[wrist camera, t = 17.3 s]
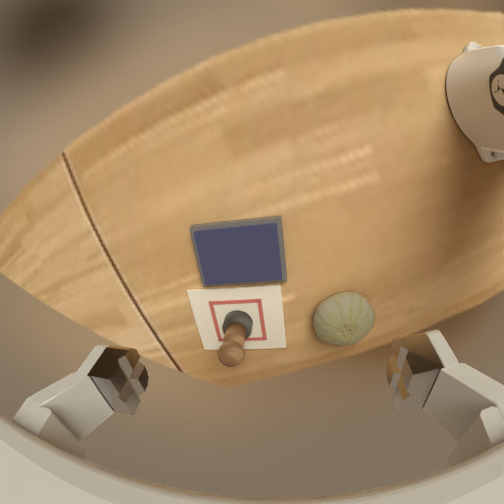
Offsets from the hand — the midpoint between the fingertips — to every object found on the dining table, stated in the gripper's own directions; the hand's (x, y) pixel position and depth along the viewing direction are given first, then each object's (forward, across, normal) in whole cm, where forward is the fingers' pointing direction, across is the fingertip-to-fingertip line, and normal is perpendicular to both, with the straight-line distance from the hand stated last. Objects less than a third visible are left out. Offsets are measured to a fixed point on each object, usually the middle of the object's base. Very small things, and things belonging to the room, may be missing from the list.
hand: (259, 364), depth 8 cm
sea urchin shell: (+30, -8, +20) cm, 37 cm away
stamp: (+29, +8, +20) cm, 36 cm away
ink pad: (+29, +6, +8) cm, 31 cm away
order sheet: (+29, +8, +20) cm, 36 cm away
